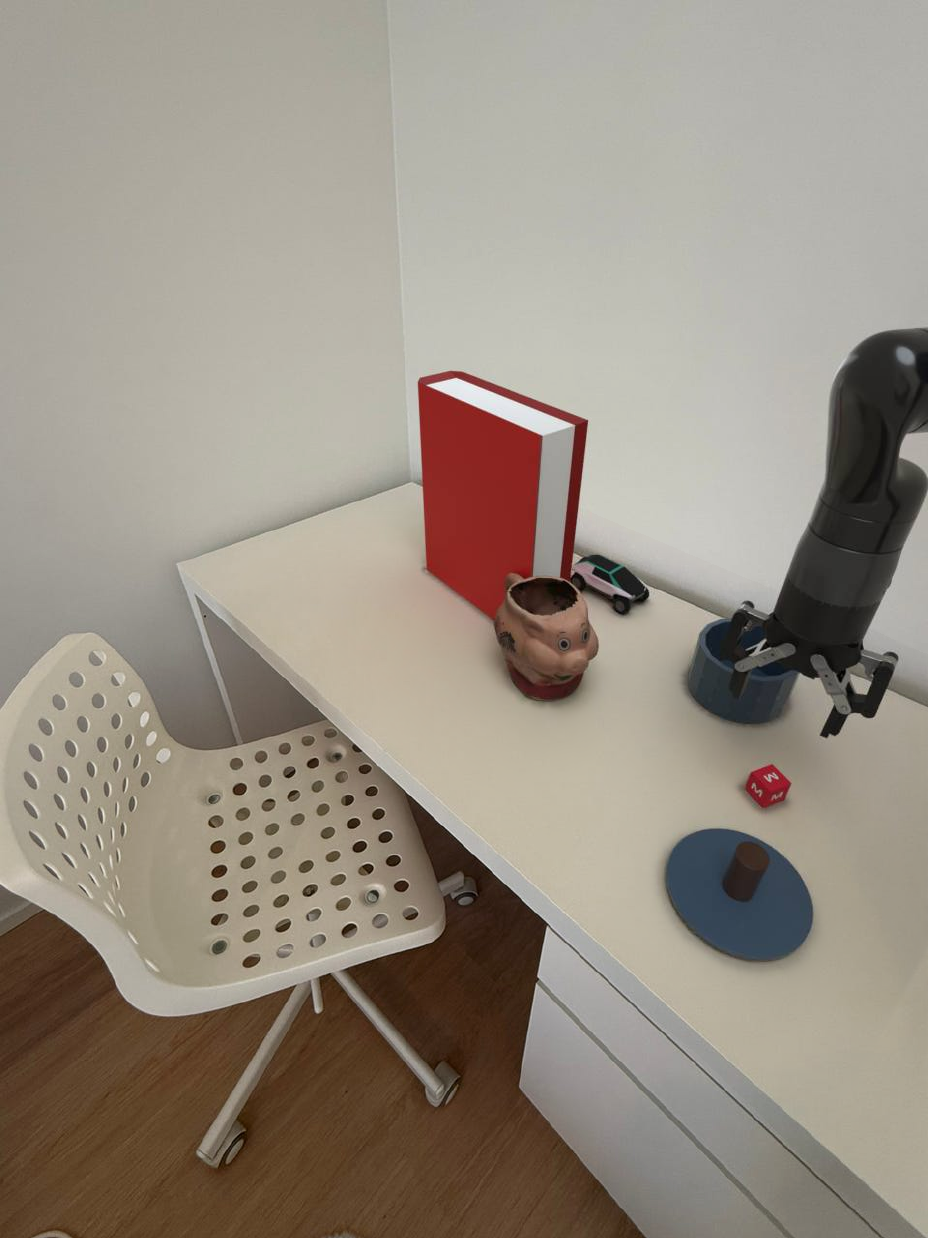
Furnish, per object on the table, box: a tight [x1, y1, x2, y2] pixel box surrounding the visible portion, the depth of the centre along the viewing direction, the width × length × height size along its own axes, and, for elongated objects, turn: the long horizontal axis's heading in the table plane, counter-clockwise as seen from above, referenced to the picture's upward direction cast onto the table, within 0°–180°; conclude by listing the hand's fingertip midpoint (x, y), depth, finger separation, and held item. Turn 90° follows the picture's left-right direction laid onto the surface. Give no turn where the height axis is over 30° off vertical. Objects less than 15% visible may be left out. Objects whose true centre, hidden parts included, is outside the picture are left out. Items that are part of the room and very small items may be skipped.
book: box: [417, 370, 589, 621], centre depth 97 cm, size 27×8×32 cm, turn 37°
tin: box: [687, 617, 801, 725], centre depth 85 cm, size 13×13×8 cm
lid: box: [665, 827, 814, 962], centre depth 62 cm, size 14×14×7 cm
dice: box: [744, 763, 792, 809], centre depth 73 cm, size 3×3×3 cm
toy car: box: [570, 554, 650, 615], centre depth 104 cm, size 6×12×5 cm, turn 42°
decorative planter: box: [493, 573, 600, 701], centre depth 87 cm, size 20×12×14 cm, turn 30°
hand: (780, 712), depth 65 cm, fingers open, 8 cm apart
